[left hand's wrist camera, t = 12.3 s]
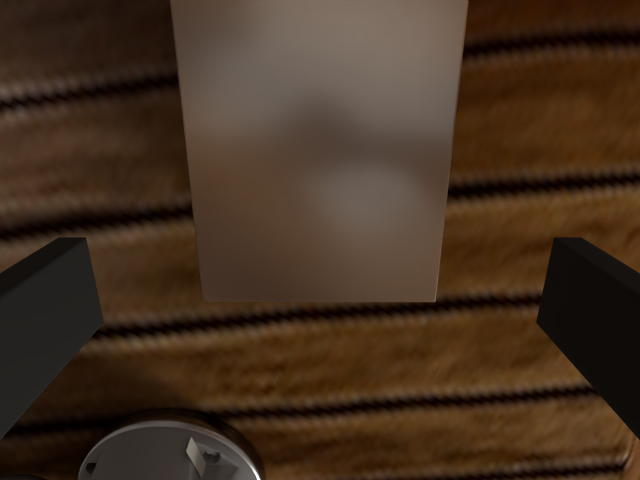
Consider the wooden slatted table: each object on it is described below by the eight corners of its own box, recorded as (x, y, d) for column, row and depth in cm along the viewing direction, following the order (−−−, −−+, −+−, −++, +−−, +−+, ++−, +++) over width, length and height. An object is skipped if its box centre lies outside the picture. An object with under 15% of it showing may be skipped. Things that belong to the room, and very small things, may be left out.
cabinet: (216, -108, 23) (142, -240, 13) (422, -107, 23) (495, -239, 13) (239, 230, 29) (202, 302, 20) (398, 230, 29) (436, 302, 20)
